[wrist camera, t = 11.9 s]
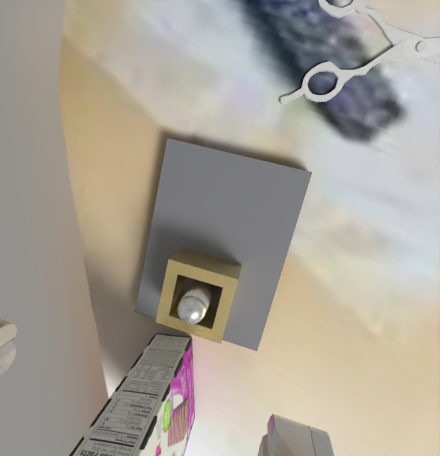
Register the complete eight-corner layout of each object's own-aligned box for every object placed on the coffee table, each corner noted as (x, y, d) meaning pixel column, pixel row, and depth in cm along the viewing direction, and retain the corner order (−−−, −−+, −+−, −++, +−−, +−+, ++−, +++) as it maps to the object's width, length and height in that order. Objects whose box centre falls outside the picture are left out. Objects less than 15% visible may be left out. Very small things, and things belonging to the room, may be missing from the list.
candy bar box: (197, 417, 33) (133, 645, 17) (159, 412, 33) (63, 624, 17) (195, 334, 31) (119, 502, 15) (154, 330, 31) (40, 486, 15)
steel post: (197, 271, 28) (176, 298, 21) (219, 277, 27) (205, 307, 21) (192, 292, 28) (170, 324, 22) (213, 298, 28) (198, 333, 21)
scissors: (303, -29, 23) (578, -21, 20) (301, -23, 23) (566, -13, 20) (279, 103, 25) (525, 129, 22) (279, 105, 25) (516, 131, 22)
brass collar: (182, 247, 27) (168, 259, 23) (242, 265, 27) (238, 279, 23) (170, 303, 29) (155, 322, 25) (227, 321, 28) (220, 343, 24)
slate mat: (172, 140, 27) (167, 138, 26) (309, 172, 25) (312, 172, 24) (140, 305, 31) (134, 311, 30) (257, 342, 29) (257, 350, 28)
